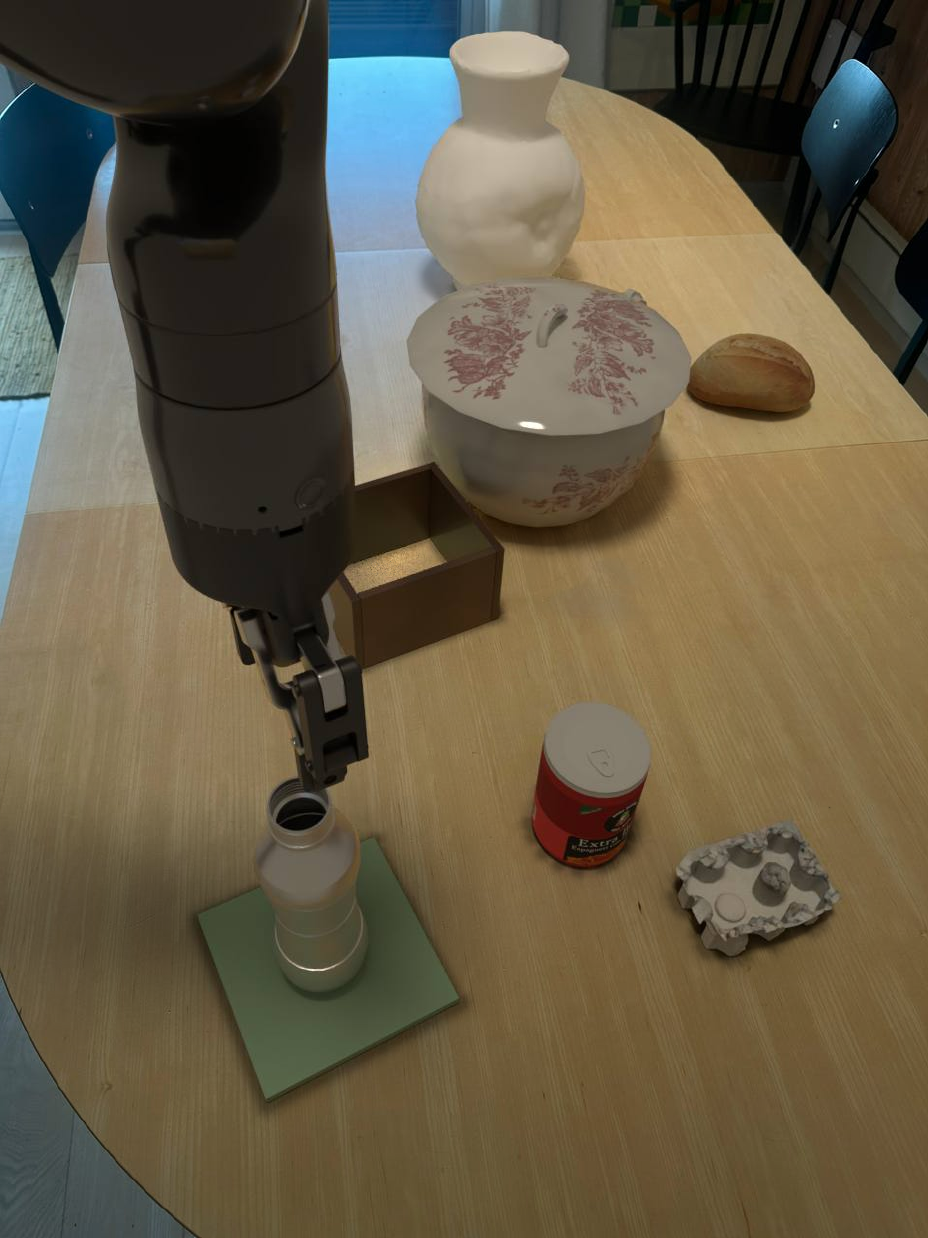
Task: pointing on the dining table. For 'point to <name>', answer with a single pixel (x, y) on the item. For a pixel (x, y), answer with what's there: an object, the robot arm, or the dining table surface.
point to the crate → (425, 598)
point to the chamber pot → (545, 393)
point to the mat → (335, 1020)
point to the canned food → (589, 782)
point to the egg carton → (754, 886)
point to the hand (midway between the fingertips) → (290, 715)
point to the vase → (502, 166)
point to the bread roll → (752, 374)
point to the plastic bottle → (311, 887)
